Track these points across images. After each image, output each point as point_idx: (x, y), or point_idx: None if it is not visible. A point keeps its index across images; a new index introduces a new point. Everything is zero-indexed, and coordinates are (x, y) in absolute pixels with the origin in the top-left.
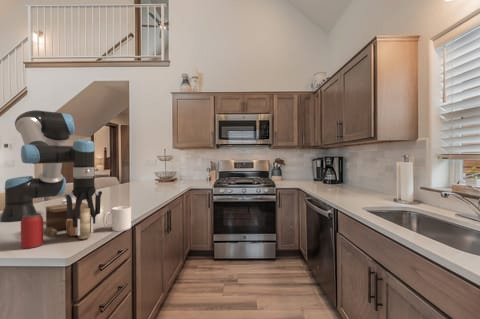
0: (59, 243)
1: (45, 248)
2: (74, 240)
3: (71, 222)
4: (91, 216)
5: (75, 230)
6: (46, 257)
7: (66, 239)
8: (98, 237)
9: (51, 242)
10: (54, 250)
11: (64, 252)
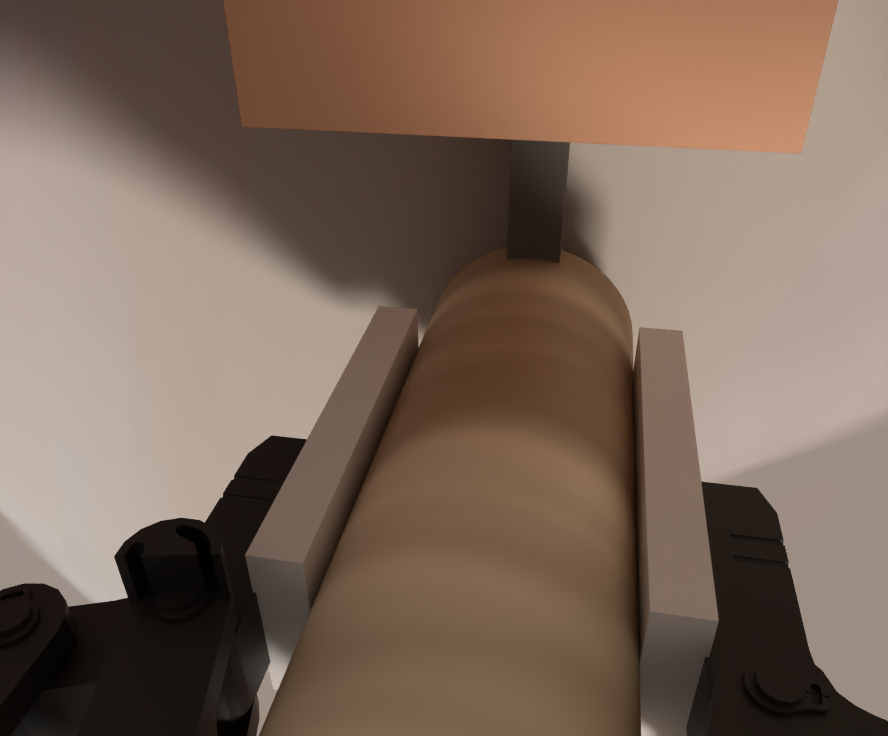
0: (175, 200)
1: (7, 275)
2: (393, 243)
3: (267, 120)
4: (696, 688)
5: (355, 350)
6: (49, 562)
7: None
8: (730, 418)
9: (61, 7)
10: (111, 442)
11: None
